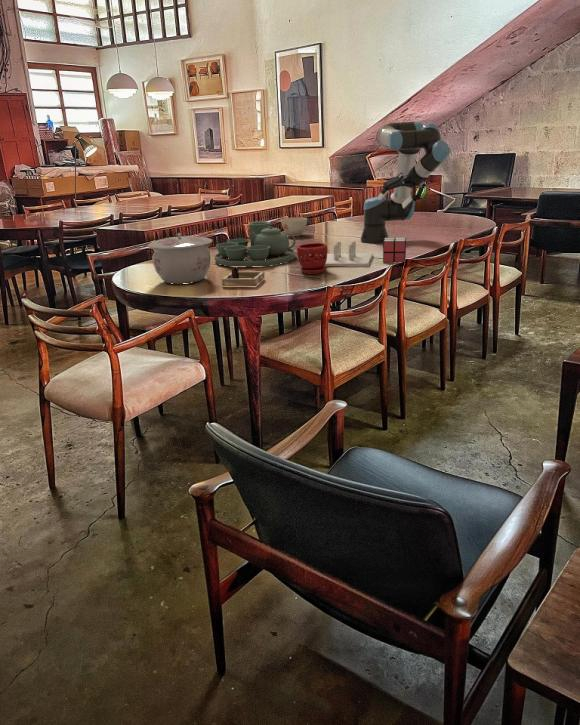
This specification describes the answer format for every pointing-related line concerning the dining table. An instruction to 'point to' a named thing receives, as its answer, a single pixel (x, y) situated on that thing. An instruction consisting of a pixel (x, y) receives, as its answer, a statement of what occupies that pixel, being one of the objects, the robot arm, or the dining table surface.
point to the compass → (235, 273)
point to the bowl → (294, 225)
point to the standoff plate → (348, 257)
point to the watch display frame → (255, 276)
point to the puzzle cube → (394, 250)
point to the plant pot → (312, 257)
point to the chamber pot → (181, 258)
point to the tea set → (257, 247)
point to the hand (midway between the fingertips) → (391, 202)
